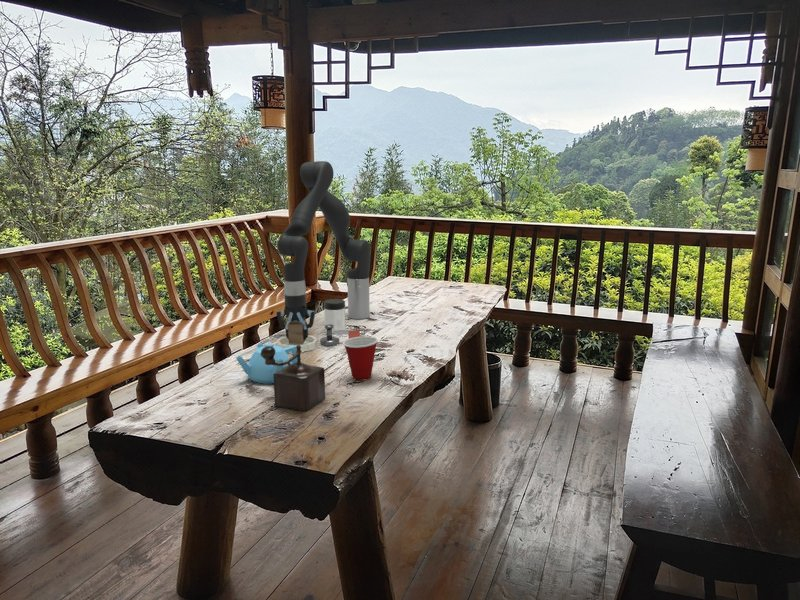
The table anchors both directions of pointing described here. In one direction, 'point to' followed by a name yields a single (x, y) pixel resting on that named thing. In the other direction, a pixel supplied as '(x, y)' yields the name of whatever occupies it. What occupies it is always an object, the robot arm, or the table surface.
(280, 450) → the table surface
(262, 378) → the teapot
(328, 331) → the base
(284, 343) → the dish
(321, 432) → the table surface
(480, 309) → the table surface
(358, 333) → the crank
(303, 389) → the coffee grinder
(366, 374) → the plastic cup
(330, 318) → the jar
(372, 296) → the table surface
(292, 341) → the block
